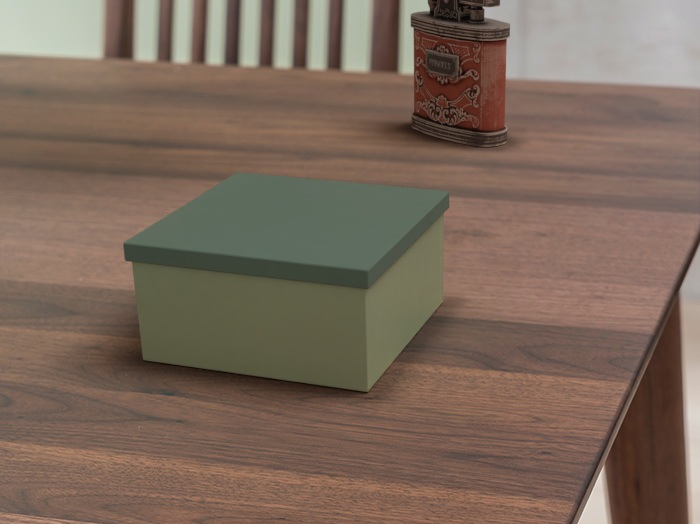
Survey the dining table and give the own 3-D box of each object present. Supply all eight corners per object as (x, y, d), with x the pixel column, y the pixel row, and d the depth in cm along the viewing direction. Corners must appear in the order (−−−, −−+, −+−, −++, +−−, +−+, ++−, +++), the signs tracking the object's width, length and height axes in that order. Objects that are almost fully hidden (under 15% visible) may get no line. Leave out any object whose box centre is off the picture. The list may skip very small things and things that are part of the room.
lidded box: (125, 360, 52) (110, 241, 50) (234, 275, 61) (226, 170, 59) (371, 395, 49) (367, 270, 47) (449, 300, 58) (449, 190, 56)
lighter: (400, 127, 86) (398, -26, 82) (436, 118, 88) (436, -31, 84) (482, 149, 81) (484, -12, 76) (518, 140, 83) (523, -18, 78)
